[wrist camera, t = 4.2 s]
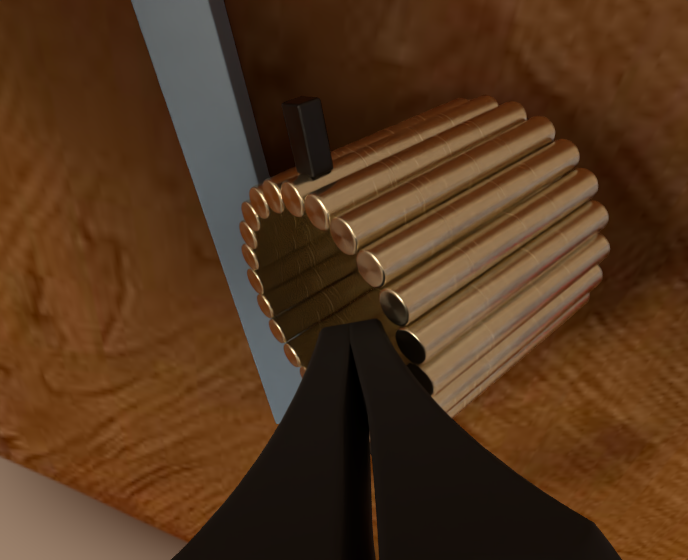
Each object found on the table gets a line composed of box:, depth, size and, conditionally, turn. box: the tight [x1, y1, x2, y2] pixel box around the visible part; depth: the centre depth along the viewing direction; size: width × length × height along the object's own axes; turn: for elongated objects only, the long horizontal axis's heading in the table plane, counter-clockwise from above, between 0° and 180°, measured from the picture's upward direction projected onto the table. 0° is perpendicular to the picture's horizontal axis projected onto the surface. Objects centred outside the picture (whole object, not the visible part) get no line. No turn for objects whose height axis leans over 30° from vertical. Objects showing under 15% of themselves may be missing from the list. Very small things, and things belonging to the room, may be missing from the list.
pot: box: [239, 95, 610, 455], centre depth 15 cm, size 10×11×10 cm
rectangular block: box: [131, 0, 309, 424], centre depth 19 cm, size 2×16×2 cm, turn 10°
